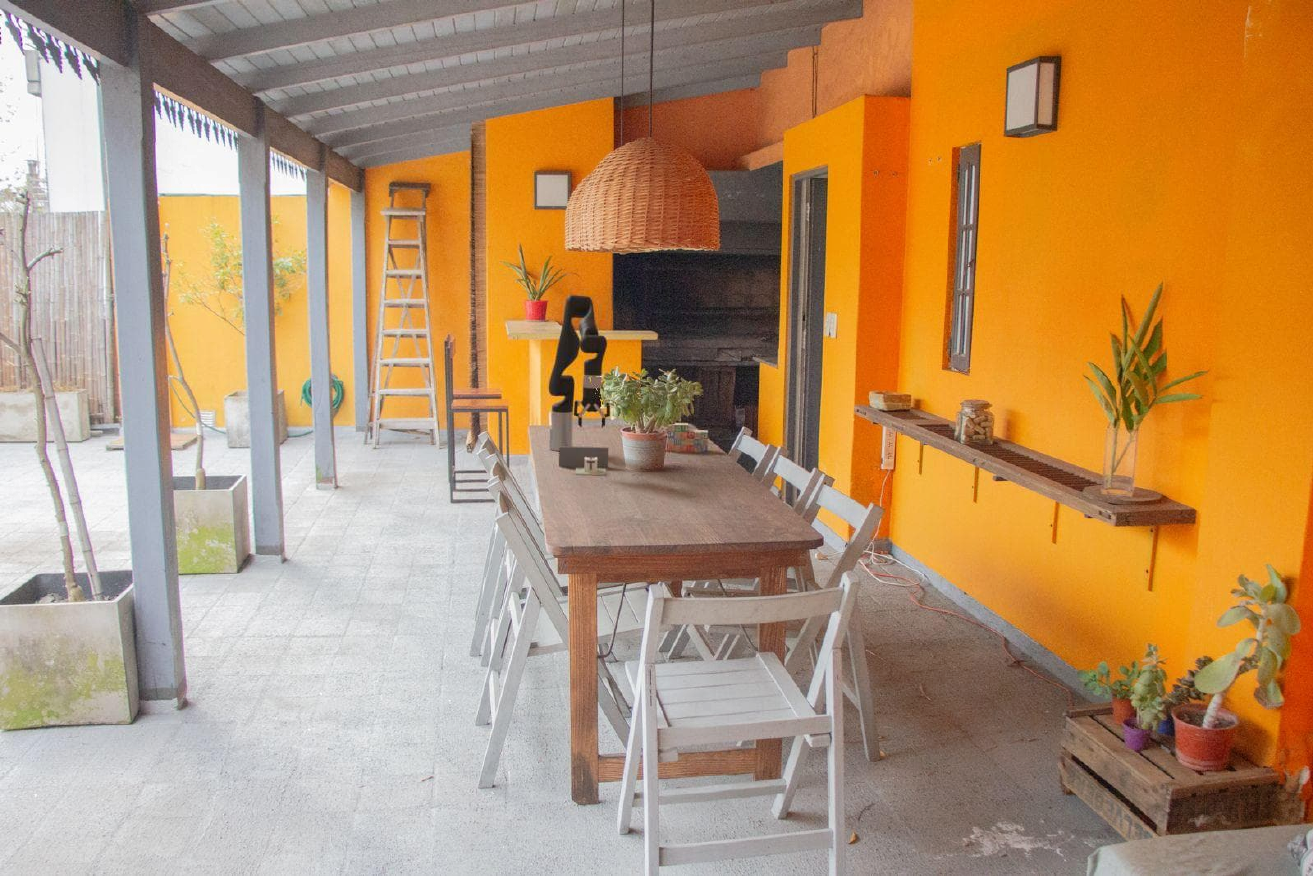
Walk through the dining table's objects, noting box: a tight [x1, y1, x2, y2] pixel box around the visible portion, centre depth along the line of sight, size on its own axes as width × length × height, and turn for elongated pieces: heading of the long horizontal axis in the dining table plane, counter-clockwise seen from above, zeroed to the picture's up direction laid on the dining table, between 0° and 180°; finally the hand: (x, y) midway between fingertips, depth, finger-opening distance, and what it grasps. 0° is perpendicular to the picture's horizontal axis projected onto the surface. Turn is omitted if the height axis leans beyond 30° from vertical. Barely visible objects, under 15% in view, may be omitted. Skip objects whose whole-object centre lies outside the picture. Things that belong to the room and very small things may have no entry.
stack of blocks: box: [666, 422, 709, 453], centre depth 458 cm, size 21×6×12 cm, turn 89°
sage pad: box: [574, 467, 607, 476], centre depth 403 cm, size 12×12×1 cm
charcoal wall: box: [558, 446, 609, 468], centre depth 413 cm, size 20×2×8 cm, turn 93°
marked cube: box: [583, 457, 598, 472], centre depth 402 cm, size 5×5×5 cm
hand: (591, 427), depth 400 cm, fingers open, 8 cm apart
